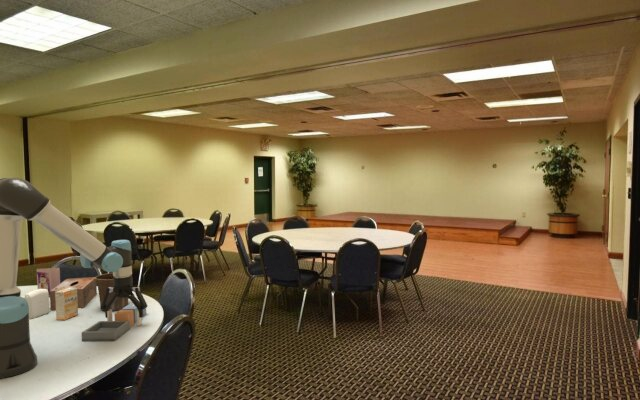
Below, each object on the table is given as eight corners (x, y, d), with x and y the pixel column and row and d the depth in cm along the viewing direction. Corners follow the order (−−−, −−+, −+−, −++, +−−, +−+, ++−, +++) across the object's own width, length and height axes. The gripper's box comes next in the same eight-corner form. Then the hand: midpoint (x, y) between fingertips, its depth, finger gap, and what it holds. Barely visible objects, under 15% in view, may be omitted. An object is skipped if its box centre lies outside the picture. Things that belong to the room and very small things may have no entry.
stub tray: (114, 340, 165) (114, 332, 164) (81, 341, 165) (81, 332, 165) (130, 328, 178) (129, 320, 177) (99, 329, 178) (99, 321, 178)
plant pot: (130, 300, 219) (129, 270, 218) (135, 309, 205) (134, 276, 204) (95, 306, 210) (93, 274, 209) (97, 315, 196) (96, 281, 195)
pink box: (36, 296, 230) (34, 269, 229) (49, 292, 237) (48, 266, 236) (50, 298, 226) (48, 270, 225) (63, 294, 232) (62, 267, 232)
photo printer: (30, 319, 191) (29, 292, 191) (23, 318, 193) (22, 292, 192) (51, 312, 201) (50, 287, 201) (44, 311, 203) (43, 286, 202)
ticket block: (134, 322, 185) (134, 309, 185) (121, 322, 185) (120, 309, 185) (146, 313, 197) (146, 301, 197) (133, 314, 197) (133, 301, 197)
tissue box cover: (67, 297, 228) (66, 278, 228) (96, 294, 232) (96, 277, 232) (50, 311, 204) (49, 291, 203) (83, 308, 207) (82, 288, 207)
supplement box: (65, 320, 189) (63, 292, 188) (55, 320, 190) (54, 291, 189) (78, 314, 197) (77, 287, 197) (70, 314, 198) (68, 287, 197)
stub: (128, 327, 180) (128, 313, 179) (114, 327, 180) (114, 313, 179) (134, 323, 185) (133, 309, 184) (120, 323, 185) (120, 309, 184)
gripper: (154, 273, 185) (156, 321, 186) (99, 274, 185) (101, 322, 186) (146, 277, 177) (149, 327, 178) (89, 278, 177) (92, 328, 179)
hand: (124, 324), depth 182 cm, fingers open, 12 cm apart
